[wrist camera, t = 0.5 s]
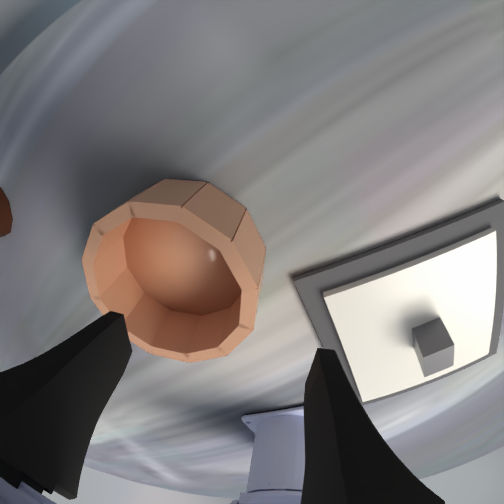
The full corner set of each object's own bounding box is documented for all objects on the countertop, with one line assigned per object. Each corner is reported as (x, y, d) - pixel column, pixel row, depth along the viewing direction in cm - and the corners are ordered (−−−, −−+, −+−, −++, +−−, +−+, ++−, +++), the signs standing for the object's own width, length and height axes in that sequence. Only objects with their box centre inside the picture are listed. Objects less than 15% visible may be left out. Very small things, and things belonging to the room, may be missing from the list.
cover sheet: (486, 349, 20) (500, 376, 17) (362, 397, 24) (366, 428, 20) (491, 227, 15) (520, 251, 12) (323, 292, 19) (327, 328, 16)
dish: (288, 294, 20) (286, 341, 16) (168, 329, 23) (147, 369, 19) (217, 150, 16) (193, 165, 12) (95, 220, 19) (58, 247, 15)
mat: (494, 349, 20) (496, 353, 20) (349, 404, 25) (349, 408, 25) (500, 198, 14) (504, 201, 14) (293, 277, 19) (293, 281, 19)
